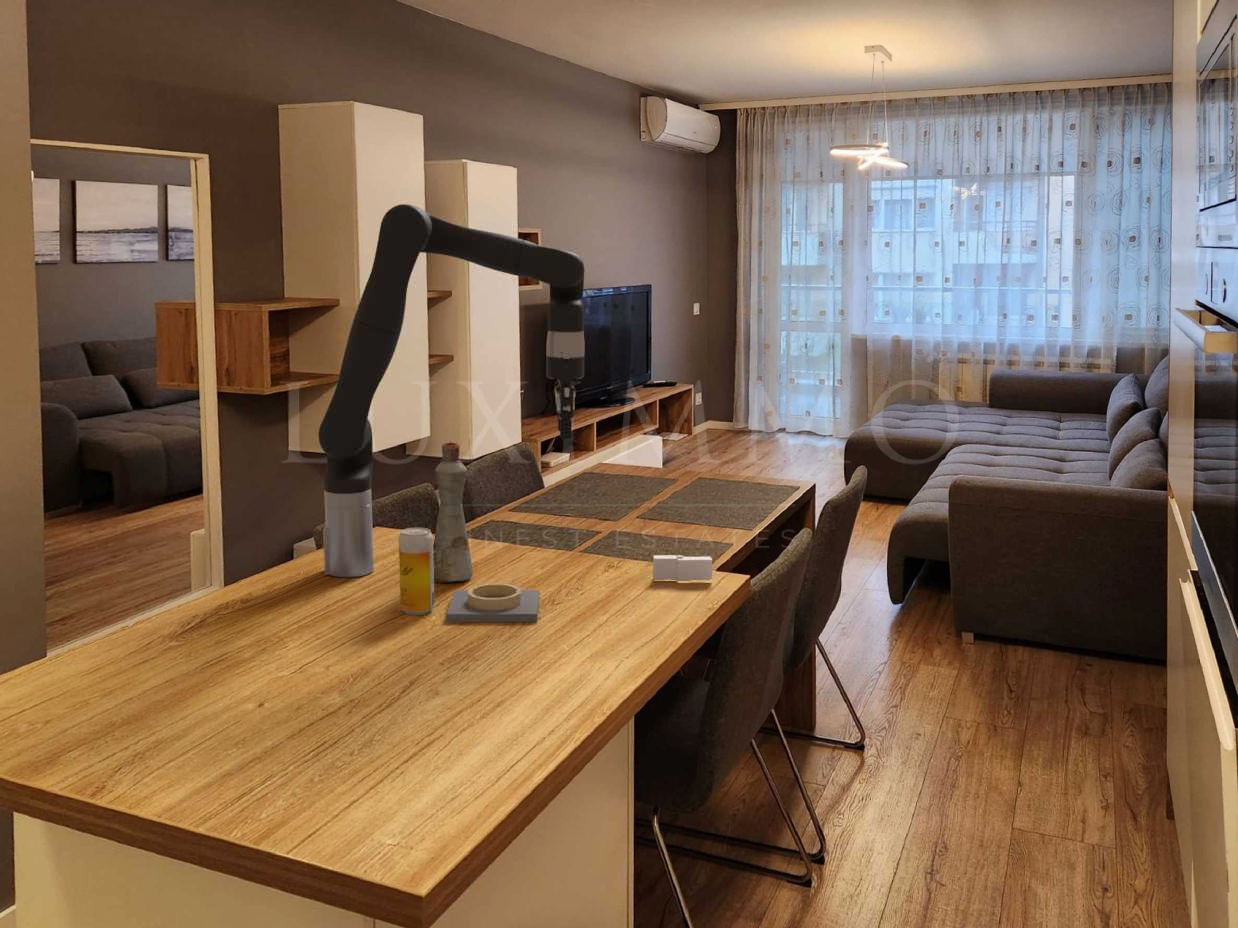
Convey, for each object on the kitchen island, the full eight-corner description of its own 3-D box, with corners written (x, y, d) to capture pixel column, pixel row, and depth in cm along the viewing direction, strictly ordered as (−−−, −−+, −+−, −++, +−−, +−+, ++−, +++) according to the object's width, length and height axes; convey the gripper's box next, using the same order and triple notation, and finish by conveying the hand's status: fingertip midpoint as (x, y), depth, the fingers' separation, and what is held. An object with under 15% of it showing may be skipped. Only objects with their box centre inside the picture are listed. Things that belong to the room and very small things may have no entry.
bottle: (437, 587, 217) (434, 446, 212) (423, 575, 225) (420, 439, 219) (479, 582, 221) (477, 443, 215) (464, 570, 229) (462, 436, 223)
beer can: (402, 605, 206) (400, 527, 203) (435, 605, 206) (434, 526, 203) (399, 616, 200) (396, 535, 197) (433, 615, 200) (431, 535, 197)
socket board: (446, 622, 197) (446, 603, 196) (454, 597, 211) (454, 580, 210) (537, 621, 198) (537, 603, 197) (539, 597, 211) (539, 579, 211)
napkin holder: (726, 582, 224) (727, 554, 223) (697, 596, 215) (698, 567, 214) (663, 569, 232) (664, 543, 231) (633, 582, 223) (633, 555, 222)
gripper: (545, 350, 226) (544, 429, 229) (547, 357, 212) (547, 441, 215) (581, 350, 227) (580, 429, 230) (587, 357, 213) (585, 441, 216)
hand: (564, 434), depth 222 cm, fingers open, 8 cm apart
